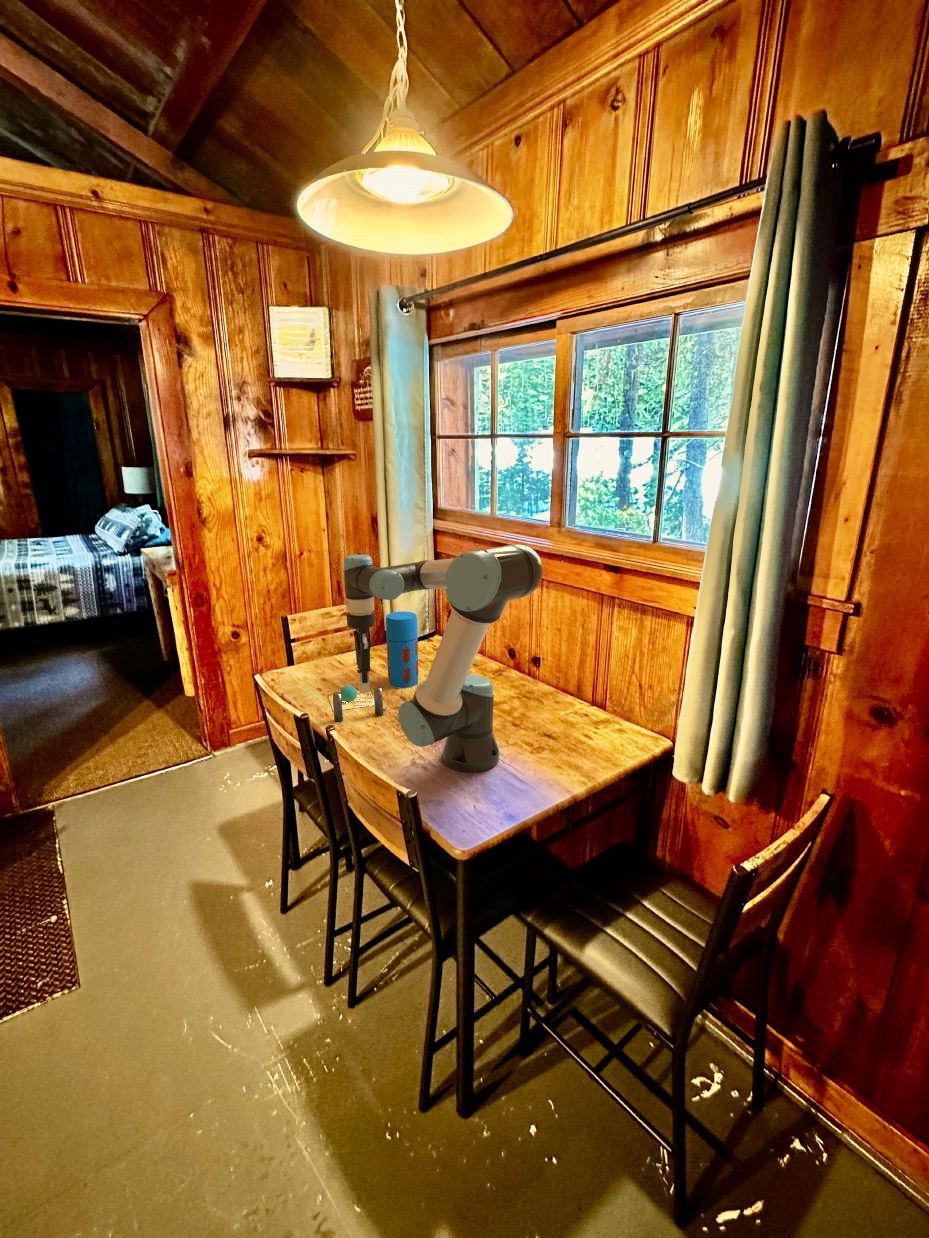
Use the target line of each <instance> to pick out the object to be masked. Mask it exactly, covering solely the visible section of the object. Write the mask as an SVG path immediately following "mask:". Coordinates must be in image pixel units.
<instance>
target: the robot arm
mask: <svg viewBox="0 0 929 1238" xmlns="http://www.w3.org/2000/svg"><path fill="white" fill-rule="evenodd" d="M342 572H343V580H344V581H343V582H344V594H345V601H343V605H344V606H345V609H346V612H347V613H346V626H347V627H348V628H350V629H353V633H352V634H353V640H354V647H355V659H356V662H355V663H356V666H357V669H356V672H357V673H358V690H359V692H360V694H361V693H369V692H370V693H371V691H370V689H371V688H370V686H371V685H370V672H371V645H372V643H371V641H370V640H371V633H370V632H369V631H368V629H369V628H372V627H374V626H375V624H376V623H375V622H376V619H375V612H374V611H375V597H376V598H377V599H379V600H380V599H381V600H384V601H385V600H388V601H394V600H396V599H398V597H400V596H402V594H407V593H411V592H415V591H424V590H441V589H444V590H445V594H446V597H447V599H448V604H449V606H450V607H451V612H450V615H449V618H448V621H447V624H446V627H445V628H444V632H443V634H442V637H441V639H440V642H439V645H438V647H437V650H436V653H435V656H434V659H433V661H432V663H431V666H430V669H429V672H428V675H427V677H426V679H425V680H423V681H421V682H419V684H417V687H416V688H415V692H414V694H413V697H412V698H411V699H410V700H405V701H404V702H402V703H401V704H400V705H399V707H398V711H397V715H398V722H399V724H400V727H401V730H402V732H403V734H404V735H405V738H407V739H408V741H409V742H410V743H412V744H413V745H414V746H416V747H420V748H423V747H426V746H429V745H433V744H434V743H437V742H439V741H442V740H444V739H446V740H445V743H444V746H443V749H442V760H443V763H444V764H445V765H446V766H448V767H449V768H450V769H452V770H455V771H459V772H462V773H479V772H484V771H487V770H489V769H492V768H494V767H495V766H496V765H497V764H498V762H499V761H500V760H499V759H500V750H499V746H498V744H497V740H496V737H495V734H494V732H493V731H494V702H495V701H494V698H495V694H494V684H493V682H492V680H490V679H489V678H487V677H485V676H482V675H479V674H475V673H474V674H473V673H470V671H471V669H472V666H473V664H474V663H475V659H476V657H477V655H478V652H479V650H480V647H481V645H482V643H483V640H484V638H485V636H486V633H487V631H488V629H489V626H490V625H493V624H495V623H496V622H498V621H499V620H500V618H501V617H502V614H503V612H504V610H505V608H506V605H507V604H508V602H511V601H515V600H518V599H521V598H522V599H523V598H525V597H527V596H530V595H531V594H532V593H533V592H535V591H536V589H537V588H538V587H539V586H540V584H541V582H542V579H543V574H544V568H543V563H542V560H541V558H540V556H539V554H537V552H536V551H535V550H534V549H532V548H531V547H529V546H526V545H524V544H523V545H522V544H516V543H515V544H509V545H501V546H496V547H491V548H486V549H484V548H476V549H472V550H470V551H467V552H463V553H461V554H458V555H457V556H456V557H455V558H445V559H436V560H432V559H431V560H428V559H426V560H425V559H424V560H420V561H416V562H410V563H402V564H398V565H397V564H396V565H390V566H385V567H384V566H383V567H379V566H378V567H377V566H375V565H373V559H372V557H371V556H370V555H368V554H351V555H347V556H345V557H344V558H343V570H342Z"/></svg>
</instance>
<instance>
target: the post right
mask: <svg viewBox="0 0 929 1238" xmlns="http://www.w3.org/2000/svg"><path fill="white" fill-rule="evenodd" d="M373 698H374V705H375V706H374V715H375V717H383V715H384V700H383V699H384V698H383V687H382V686H374V687H373Z"/></svg>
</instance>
